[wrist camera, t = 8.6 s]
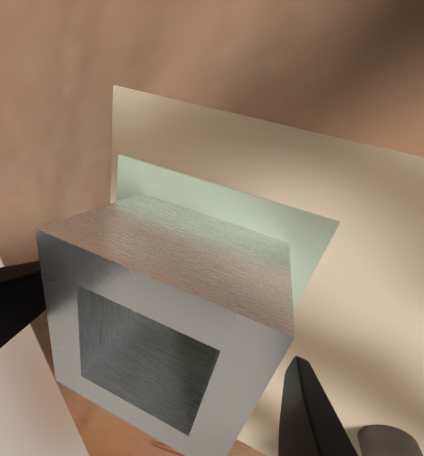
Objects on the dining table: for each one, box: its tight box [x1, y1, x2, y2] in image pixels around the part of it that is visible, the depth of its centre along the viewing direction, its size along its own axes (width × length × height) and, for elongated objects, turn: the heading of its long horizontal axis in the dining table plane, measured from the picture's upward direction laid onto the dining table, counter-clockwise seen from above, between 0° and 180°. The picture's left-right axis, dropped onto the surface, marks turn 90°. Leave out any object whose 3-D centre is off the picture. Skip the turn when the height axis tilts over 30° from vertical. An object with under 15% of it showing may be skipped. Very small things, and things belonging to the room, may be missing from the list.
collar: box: [35, 193, 295, 456], centre depth 8 cm, size 6×6×4 cm
